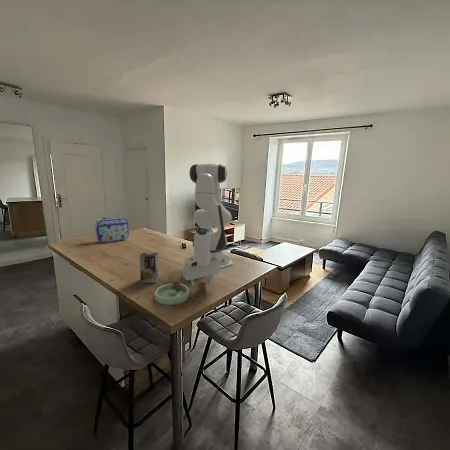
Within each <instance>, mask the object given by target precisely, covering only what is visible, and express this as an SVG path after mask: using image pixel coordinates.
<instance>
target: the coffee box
mask: <svg viewBox="0 0 450 450" xmlns="http://www.w3.org/2000/svg"><path fill="white" fill-rule="evenodd" d="M139 270H140V271H139V272H140V283H153V284H154V283H157V282H158V280H159V278H160V277H159V275H160V274H159V255H158V252H142V253H141V254H140V255H139Z"/></svg>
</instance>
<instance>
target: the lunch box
mask: <svg viewBox="0 0 450 450" xmlns="http://www.w3.org/2000/svg"><path fill="white" fill-rule="evenodd" d="M94 222H95V224H94V225H95V226H94V227H95V229H94V231H95V236H96V239H97V240H98V242H100V243H102V244H107V243H113V242H118V241H119V242H120V241H123V240H126V239H128V238H129V236H130V235H129V234H130V233H129V222H128V220H127V218H124V217H106V216H103V217H102V218H99V219H96V220H95V221H94Z"/></svg>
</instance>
